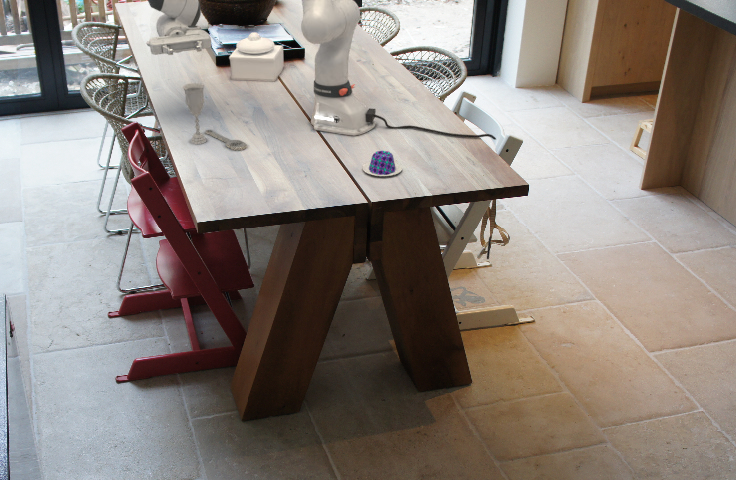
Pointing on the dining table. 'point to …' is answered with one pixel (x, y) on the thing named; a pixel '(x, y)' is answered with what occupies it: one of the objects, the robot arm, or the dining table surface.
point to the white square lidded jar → (256, 59)
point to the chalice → (195, 107)
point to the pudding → (382, 164)
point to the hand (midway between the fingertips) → (185, 50)
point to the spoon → (228, 141)
